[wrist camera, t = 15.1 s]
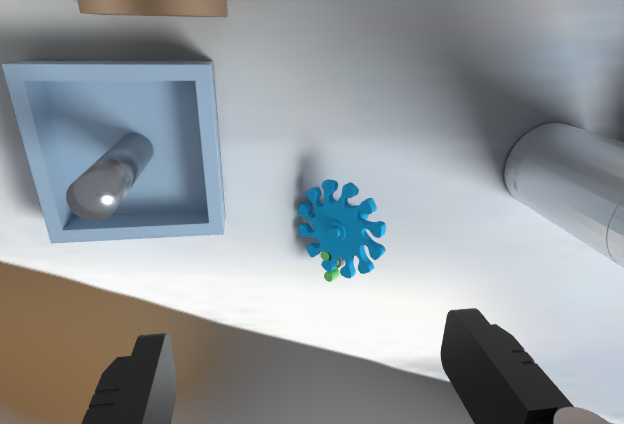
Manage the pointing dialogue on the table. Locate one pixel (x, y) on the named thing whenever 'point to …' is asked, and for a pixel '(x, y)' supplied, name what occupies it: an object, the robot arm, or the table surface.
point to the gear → (341, 230)
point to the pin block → (155, 7)
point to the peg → (109, 178)
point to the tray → (110, 129)
